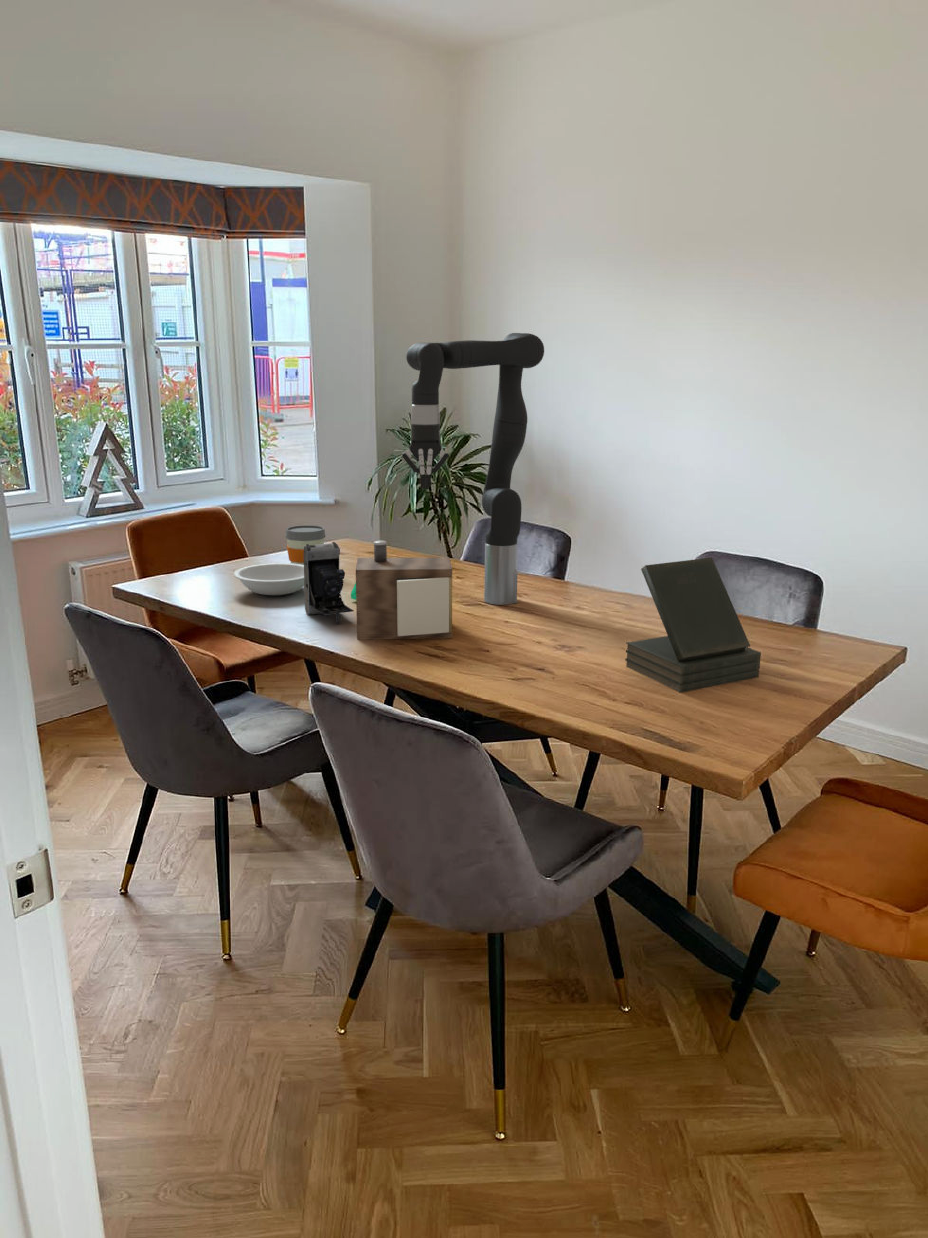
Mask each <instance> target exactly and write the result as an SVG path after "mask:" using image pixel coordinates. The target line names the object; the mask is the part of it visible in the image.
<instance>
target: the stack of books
mask: <svg viewBox="0 0 928 1238" xmlns="http://www.w3.org/2000/svg"><path fill="white" fill-rule="evenodd" d="M640 571H641V573H642V575H643V577H644V579H645V580H644V581H645V582H646V585H647V588H648V590H649V592H650V594H651V598H652V600H653V602H654V606H655V608H656V611H657V612H658V615H659V618H660V620H661V622H662V625H663V627H664V629H665V631H666V635H665V636H659V637H653V638H646V639H641V640H636V641H628V642H626V643H625V644H626V645H627V649H625V653H626V658H625V659H624V661H626V668H628V669H630V670H632V671H634V672H636V673H639V674H641V675H642V676H644V677H647V678H649V679H651V680H653V681H656V682H657V683H659V684H661V685H663V686H665V687H668V688H670V689H672V690H675V691H676V692H678V693H679V694H680V693H687V692H692V691H694V690H695V691H696V690H700V689H701V690H702V689H706V688H711V687H716V686H717V687H718V686H721V685H726V684H732V683H737V682H742V681H746V680H751V679H756V678H760V668H761V667H760V666H761V658H762V657H761V656H762V653H761V651H758V650H755V649H752V648H751V644H750V641H749V639H748V637H747V634H746V633H745V630H744V628H743V626H742V623H741V621H740V619H739V616H738V614H737V612H736V609H735V607H734V605H733V602H732V600H731V598H730V596H729V594H728V590H727V589H726V586H725V584H724V582H723V579H722V577H721V574H720V572H719V571H718V568H717V566H716V563H715V561H714V559H713V557H705V558H696V559H689V560H688V559H686V560H681V561H680V560H679V561H678V560H677V561H672V562H671V561H670V562H662V563H653V564H647V565H646V564H645V565H644V566H642V568H641V569H640Z"/></svg>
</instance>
